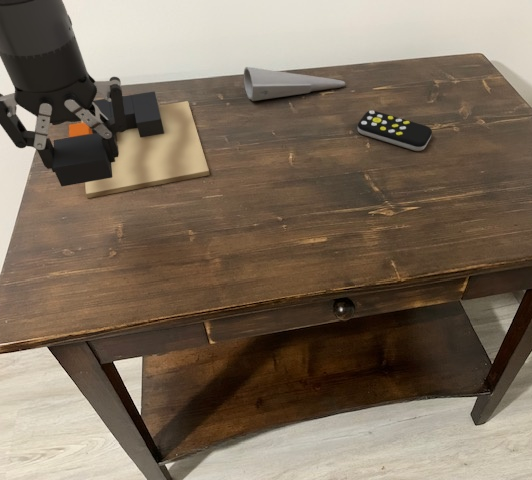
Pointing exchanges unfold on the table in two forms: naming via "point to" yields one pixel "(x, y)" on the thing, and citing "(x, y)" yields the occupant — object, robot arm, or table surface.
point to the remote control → (394, 130)
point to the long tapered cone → (283, 83)
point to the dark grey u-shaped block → (136, 113)
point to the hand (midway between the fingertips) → (84, 162)
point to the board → (155, 155)
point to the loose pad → (80, 157)
